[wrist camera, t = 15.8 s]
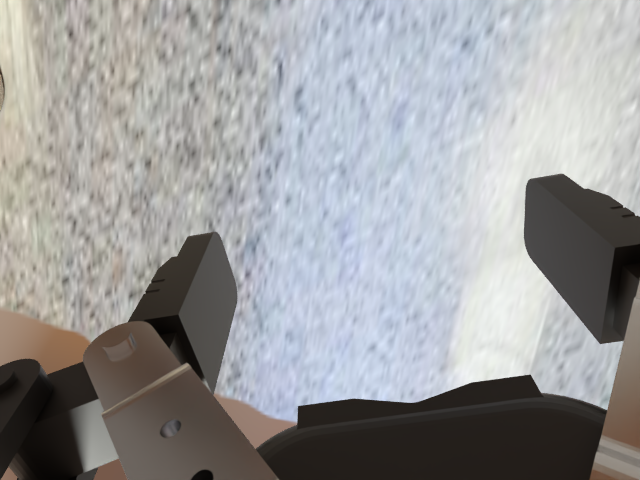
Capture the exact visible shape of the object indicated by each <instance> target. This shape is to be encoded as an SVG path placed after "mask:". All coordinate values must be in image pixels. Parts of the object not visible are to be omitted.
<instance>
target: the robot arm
mask: <svg viewBox="0 0 640 480" xmlns="http://www.w3.org/2000/svg"><path fill="white" fill-rule="evenodd" d="M3 100H4V88H3V83H2V78H1V74H0V111H1V108H2V104H3ZM524 240H525V246H526V249H527V252H528V254H529V256H530V258H531V259H532V261H533V262H534V263H535V264H536V265H537V267H538V268H539V269H540V270H541V272H542V273H543V274H544V275H545V277H546V278H547V279H548V280H549V281H550V283H551V284H552V285H553V286H554V288H555V289H556V290H557V291H558V293H559V294H560V295H561V296H562V298H563V299H564V300H565V301H566V302H567V304H568V305H569V306H570V307H571V309H572V310H573V311H574V312H575V314H576V315H577V316H578V317H579V318H580V320H581V321H582V322H583V323H584V325H585V326H586V327H587V328H588V330H589V331H590V332H591V333H592V334H593V336H594V337H595V338H596V339H597V341H598V342H599V343H600V344H603V343H611V342H618V341H624V342H623V347H622V351H621V355H620V359H619V363H618V368H617V372H616V376H615V380H614V384H613V389H612V393H611V397H610V401H609V405H608V410H605V409H603V408H600V407H598V406H596V405H593V404H590V403H587V402H584V401H581V400H577V399H573V398H570V397H566V396H560V395H554V394H547V393H541V392H540V391H539V389H538V387H537V385H536V384H535V382H534V380H533V378H532V376H531V375H525V376H517V377H510V378H503V379H495V380H488V381H480V382H473V383H469V384H467V385H464V386H461V387H459V388H456V389H453V390H450V391H448V392H445V393H442V394H439V395H437V396H434V397H431V398H429V399H426V400H423V401H420V402H416V403H403V402H390V401H377V400H364V399H348V400H340V401H333V402H325V403H318V404H311V405H303V406H298V423H297V425H296V426H293V427H291V428H288V429H286V430H284V431H282V432H280V433H278V434H277V435H275V436H273V437H272V438H270V439H269V440H267V441H265V442H264V443H263V444H261V445H260V446H259V447H258V448H256V449H255V448H254V447H253V446H252V444H251V443H250V442H249V440H248V439H247V438H246V437H245V435H244V434H243V433H242V432H241V430H240V429H239V428H238V426H237V425H236V424H235V423H234V421H233V420H232V419H231V417H230V416H229V415H228V414H227V412H226V411H225V410H224V409H223V407H222V406H221V405H220V404H219V402H218V401H217V400H216V398H215V397H214V396H213V394H214V391H215V387H216V383H217V379H218V375H219V371H220V367H221V363H222V359H223V355H224V351H225V347H226V344H227V340H228V336H229V332H230V328H231V324H232V320H233V316H234V312H235V308H236V304H237V287H236V282H235V279H234V276H233V273H232V270H231V267H230V264H229V261H228V258H227V255H226V252H225V249H224V246H223V243H222V240H221V237H220V236H219V234H218V233H217V232H211V233H205V234H200V235H194V236H188V237H187V239H186V241H185V243H184V244H183V246H182V248H181V250H180V252H179V254H178V256H176V257H171V258H170V259H169V260H168V261H167V262H166V263H165V264H163V265H162V266H161V267H160V268H159V269H158V270H157V272H156V274H155V276H154V277H153V279H152V281H151V284H149V286H148V288H147V289H146V291H145V292H146V294H144V295H143V296H142V298H141V300H140V302H139V303H138V305H137V307H136V309H135V310H134V312H133V314H132V316H131V317H130V319H129V321H128V322H127V323H124V324H120V325H118V326H115V327H113V328H111V329H109V330H107V331H106V332H104V333H102V334H101V335H100V336H98V337H97V338H96V339H95V340H94V341H93V342H92V343H91V344H90V345H89V346H88V347H87V349H86V350H85V352H84V355H83V362H81V363H78V364H75V365H72V366H70V367H67V368H64V369H62V370H59V371H56V372H53V373H50V374H48V375H47V374H46V373H45V371H44V370H43V368H42V367H41V365H40V364H39V363H38V361H36V360H33V359H21V360H16V361H13V362H10V363H7V364H5V365H2V366H0V479H1V478H2V476H3V475H4V473H5V471H6V469H7V468H8V466H9V467H10V469H11V470H12V471H13V472H14V474H15V475H16V476H17V477H18V478H17V480H93V479H94V476H95V474H96V472H97V469H98V467H99V466H101V465H103V464H106V463H108V462H111V461H113V460H116V459H118V458H119V460H120V462H121V464H122V467H123V469H124V472H125V474H126V476H127V479H128V480H640V217H639V216H635V214H634V213H633V212H632V211H630V210H629V209H627V208H626V207H625V208H623V205H621V204H620V203H619V202H617V201H616V200H614V199H613V198H611V197H610V196H608V195H605V194H602V193H599V192H596V191H593V190H590V189H583V188H582V187H581V186H579V185H578V184H577V183H575V182H574V181H573V180H571V179H570V178H568V177H567V176H566V175H564V174H557V175H551V176H545V177H539V178H533V179H530V180H529V181H528V183H527V186H526V198H525V223H524Z"/></svg>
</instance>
